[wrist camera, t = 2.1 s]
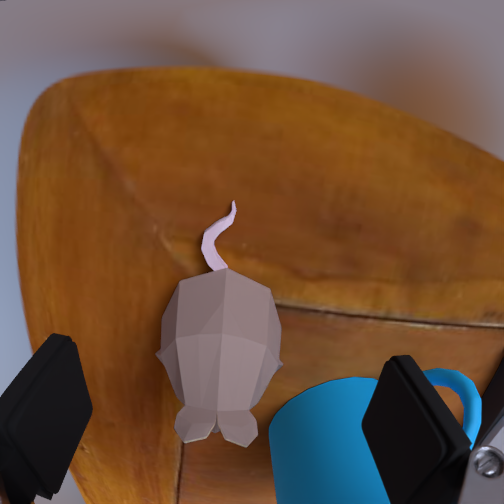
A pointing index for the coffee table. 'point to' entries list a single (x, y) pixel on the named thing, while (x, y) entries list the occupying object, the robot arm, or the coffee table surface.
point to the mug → (342, 440)
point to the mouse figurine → (219, 347)
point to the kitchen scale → (492, 413)
